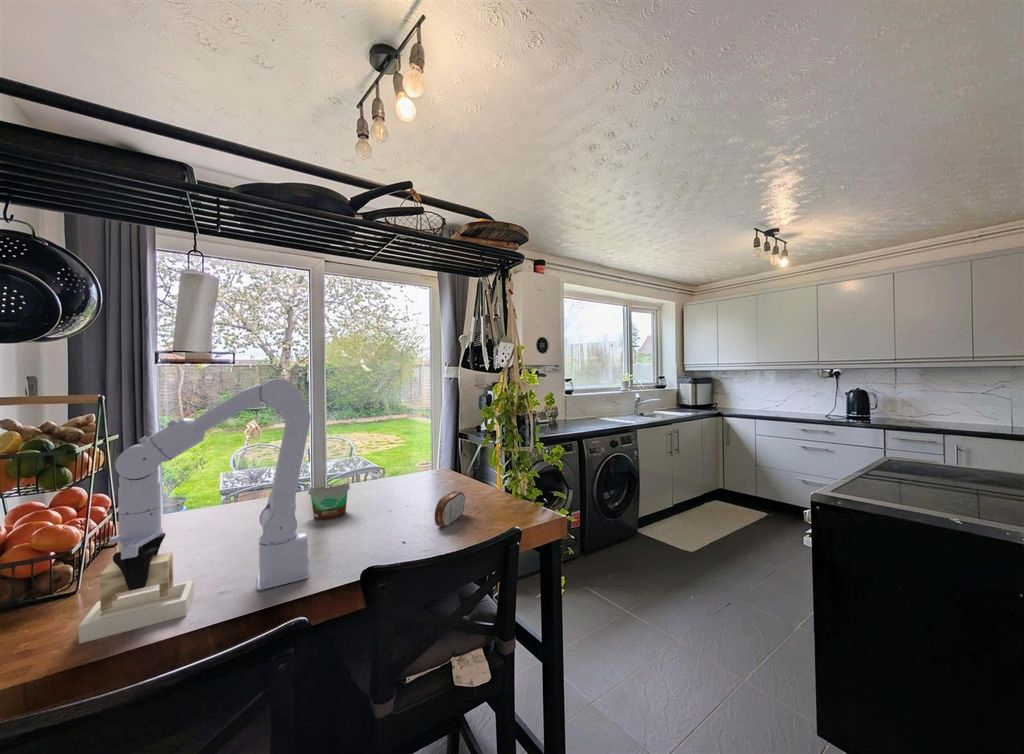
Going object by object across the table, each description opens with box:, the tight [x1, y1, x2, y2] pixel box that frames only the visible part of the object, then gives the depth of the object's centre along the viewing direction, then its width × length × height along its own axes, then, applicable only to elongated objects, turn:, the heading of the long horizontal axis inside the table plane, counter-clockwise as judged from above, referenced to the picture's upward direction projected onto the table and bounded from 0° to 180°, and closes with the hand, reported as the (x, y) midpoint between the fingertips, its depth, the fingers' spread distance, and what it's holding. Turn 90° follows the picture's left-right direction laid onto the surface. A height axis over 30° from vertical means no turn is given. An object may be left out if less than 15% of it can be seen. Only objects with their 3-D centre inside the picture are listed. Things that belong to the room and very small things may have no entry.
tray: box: [78, 579, 195, 644], centre depth 73 cm, size 14×8×3 cm, turn 122°
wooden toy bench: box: [99, 551, 174, 611], centre depth 73 cm, size 9×4×6 cm, turn 122°
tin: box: [434, 490, 466, 528], centre depth 118 cm, size 15×3×8 cm, turn 161°
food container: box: [307, 480, 351, 521], centre depth 124 cm, size 12×6×10 cm, turn 126°
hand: (141, 582), depth 73 cm, fingers closed on wooden toy bench, 4 cm apart
